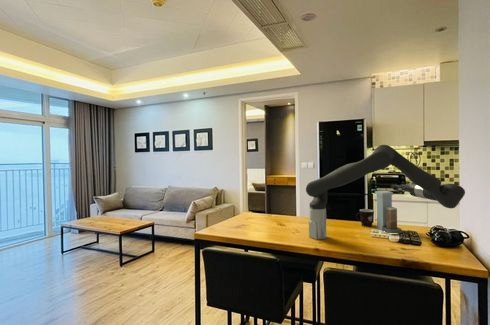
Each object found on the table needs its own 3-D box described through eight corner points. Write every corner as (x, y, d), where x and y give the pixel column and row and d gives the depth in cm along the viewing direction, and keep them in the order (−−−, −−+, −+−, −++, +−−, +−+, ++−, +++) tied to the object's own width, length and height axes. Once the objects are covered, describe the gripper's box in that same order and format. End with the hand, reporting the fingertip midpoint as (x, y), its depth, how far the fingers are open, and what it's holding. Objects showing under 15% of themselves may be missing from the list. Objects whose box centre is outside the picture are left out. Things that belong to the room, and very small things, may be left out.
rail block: (397, 233, 158) (396, 208, 157) (390, 233, 158) (390, 208, 157) (392, 231, 162) (392, 206, 161) (386, 231, 162) (386, 207, 161)
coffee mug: (372, 223, 180) (372, 209, 179) (375, 227, 171) (375, 212, 171) (354, 223, 182) (353, 208, 182) (356, 226, 174) (355, 211, 174)
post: (393, 230, 164) (392, 192, 163) (382, 231, 163) (382, 192, 162) (386, 227, 171) (385, 190, 170) (376, 228, 170) (375, 191, 169)
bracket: (401, 233, 157) (401, 228, 157) (390, 234, 156) (390, 229, 156) (393, 230, 164) (392, 225, 164) (382, 230, 164) (382, 226, 163)
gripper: (435, 182, 132) (411, 178, 148) (408, 183, 130) (387, 179, 146) (435, 197, 132) (411, 192, 148) (408, 198, 131) (387, 193, 147)
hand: (399, 186), depth 147 cm, fingers open, 8 cm apart
